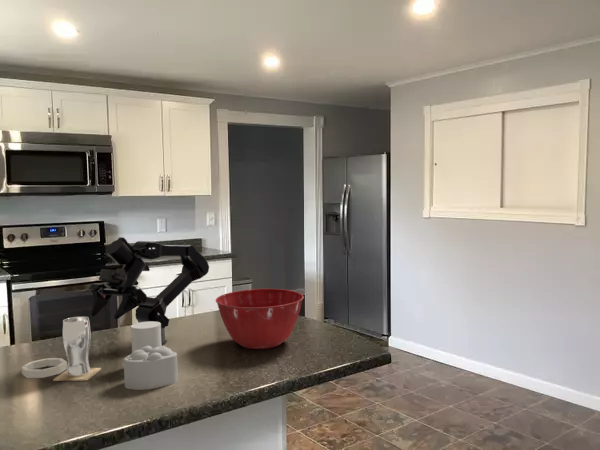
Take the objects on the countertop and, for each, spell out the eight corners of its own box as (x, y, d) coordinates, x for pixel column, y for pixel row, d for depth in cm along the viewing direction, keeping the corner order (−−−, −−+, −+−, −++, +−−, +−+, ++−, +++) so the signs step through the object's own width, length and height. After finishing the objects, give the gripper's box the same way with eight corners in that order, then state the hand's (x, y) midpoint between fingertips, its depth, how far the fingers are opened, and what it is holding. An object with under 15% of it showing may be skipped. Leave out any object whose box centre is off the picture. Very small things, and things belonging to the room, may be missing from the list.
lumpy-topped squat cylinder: (181, 382, 134) (180, 349, 133) (130, 393, 127) (129, 359, 126) (168, 371, 142) (166, 340, 142) (120, 381, 135) (118, 349, 135)
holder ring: (72, 364, 149) (72, 358, 149) (53, 377, 139) (53, 370, 139) (37, 365, 150) (36, 358, 150) (15, 378, 139) (14, 370, 139)
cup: (167, 362, 150) (166, 322, 149) (151, 372, 142) (149, 329, 141) (144, 360, 152) (142, 320, 152) (126, 369, 145) (124, 327, 144)
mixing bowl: (286, 360, 150) (285, 308, 149) (200, 352, 159) (199, 303, 158) (315, 334, 176) (314, 290, 176) (239, 329, 186) (238, 287, 185)
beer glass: (93, 367, 145) (91, 315, 144) (90, 375, 139) (87, 321, 138) (67, 370, 144) (64, 317, 143) (62, 378, 137) (59, 323, 136)
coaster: (101, 369, 145) (101, 367, 145) (86, 380, 136) (86, 379, 136) (70, 369, 146) (70, 367, 146) (53, 380, 137) (53, 379, 137)
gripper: (92, 257, 158) (63, 299, 148) (138, 259, 149) (111, 304, 140) (112, 278, 165) (86, 320, 156) (157, 281, 157) (133, 326, 148)
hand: (103, 317), depth 150 cm, fingers open, 9 cm apart
